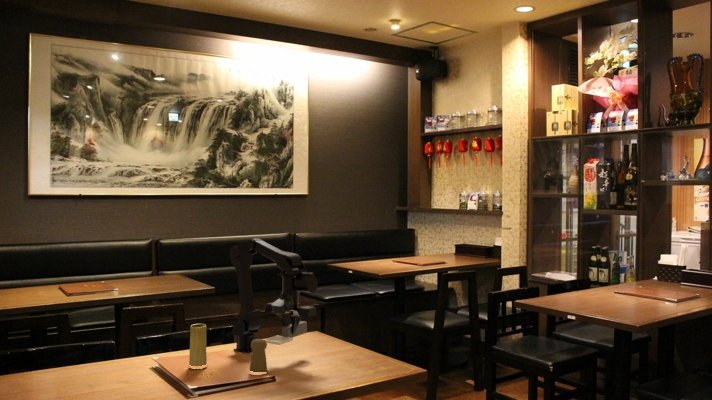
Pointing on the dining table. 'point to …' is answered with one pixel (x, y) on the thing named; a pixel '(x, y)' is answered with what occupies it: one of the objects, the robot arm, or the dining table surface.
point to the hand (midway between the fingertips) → (289, 333)
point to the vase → (198, 345)
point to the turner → (288, 334)
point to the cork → (258, 356)
